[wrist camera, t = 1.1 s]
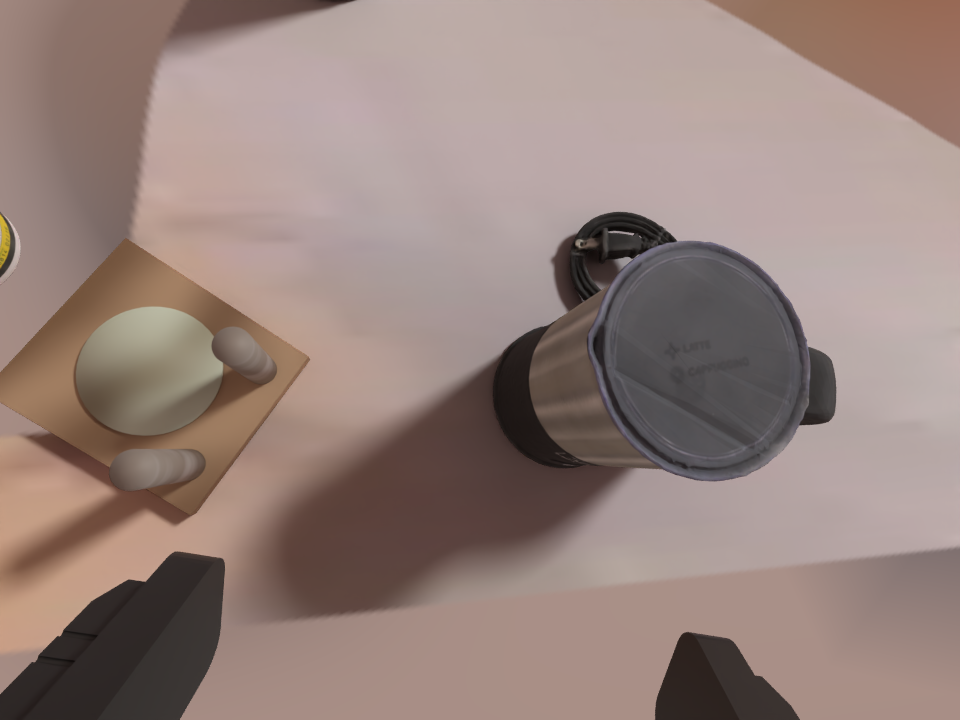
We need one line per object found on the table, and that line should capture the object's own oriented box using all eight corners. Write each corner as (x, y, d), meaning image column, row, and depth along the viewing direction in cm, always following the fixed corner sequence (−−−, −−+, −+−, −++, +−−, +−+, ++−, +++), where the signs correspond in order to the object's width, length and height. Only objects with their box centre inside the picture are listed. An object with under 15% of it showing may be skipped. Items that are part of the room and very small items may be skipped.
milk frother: (506, 483, 31) (630, 511, 17) (454, 240, 33) (528, 84, 19) (701, 435, 35) (936, 426, 21) (645, 218, 37) (826, 75, 23)
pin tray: (-4, 393, 26) (-154, 370, 18) (133, 245, 29) (52, 170, 21) (195, 513, 27) (133, 537, 20) (310, 359, 30) (294, 328, 22)
